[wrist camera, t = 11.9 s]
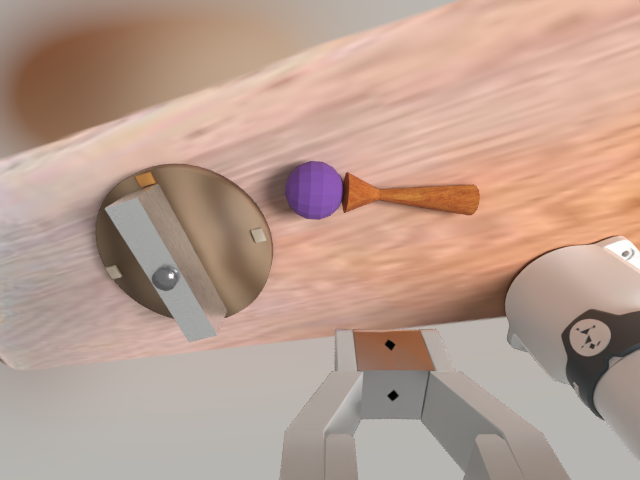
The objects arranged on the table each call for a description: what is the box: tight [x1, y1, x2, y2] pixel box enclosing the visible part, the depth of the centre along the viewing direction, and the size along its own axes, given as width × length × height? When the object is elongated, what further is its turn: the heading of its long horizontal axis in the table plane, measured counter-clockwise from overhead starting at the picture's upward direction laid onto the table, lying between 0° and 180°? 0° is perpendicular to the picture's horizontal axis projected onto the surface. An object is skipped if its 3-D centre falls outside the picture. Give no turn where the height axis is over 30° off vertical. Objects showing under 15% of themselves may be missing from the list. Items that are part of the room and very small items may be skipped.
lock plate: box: [96, 164, 273, 318], centre depth 41 cm, size 20×20×3 cm
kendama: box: [285, 161, 480, 219], centre depth 36 cm, size 6×6×20 cm
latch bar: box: [105, 184, 227, 342], centre depth 37 cm, size 17×4×5 cm, turn 18°
